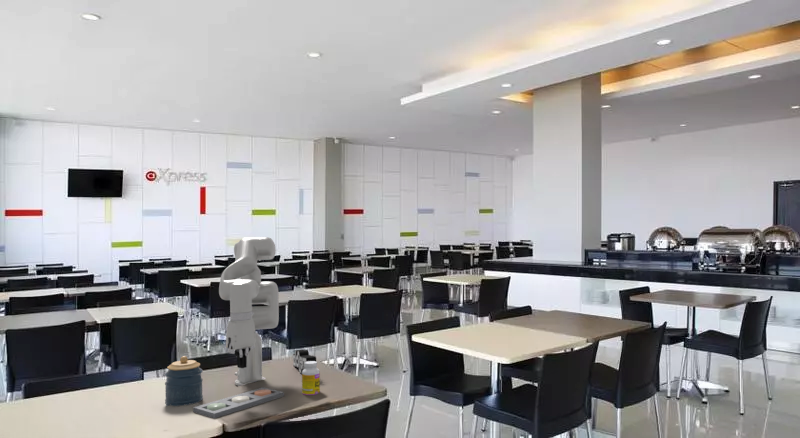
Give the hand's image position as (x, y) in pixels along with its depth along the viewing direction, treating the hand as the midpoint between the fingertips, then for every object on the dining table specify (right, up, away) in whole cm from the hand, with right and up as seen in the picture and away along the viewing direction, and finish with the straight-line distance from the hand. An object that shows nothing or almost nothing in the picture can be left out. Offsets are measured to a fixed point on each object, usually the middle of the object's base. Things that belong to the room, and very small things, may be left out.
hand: (241, 367), depth 202 cm
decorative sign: (+14, -15, +48) cm, 53 cm away
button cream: (0, -14, -2) cm, 14 cm away
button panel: (0, -14, -2) cm, 14 cm away
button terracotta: (+6, -14, +6) cm, 16 cm away
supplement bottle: (+23, -14, +10) cm, 29 cm away
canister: (-22, -15, +3) cm, 27 cm away
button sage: (-6, -13, -10) cm, 18 cm away
